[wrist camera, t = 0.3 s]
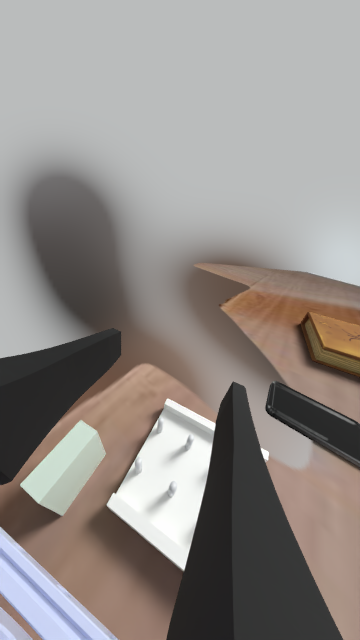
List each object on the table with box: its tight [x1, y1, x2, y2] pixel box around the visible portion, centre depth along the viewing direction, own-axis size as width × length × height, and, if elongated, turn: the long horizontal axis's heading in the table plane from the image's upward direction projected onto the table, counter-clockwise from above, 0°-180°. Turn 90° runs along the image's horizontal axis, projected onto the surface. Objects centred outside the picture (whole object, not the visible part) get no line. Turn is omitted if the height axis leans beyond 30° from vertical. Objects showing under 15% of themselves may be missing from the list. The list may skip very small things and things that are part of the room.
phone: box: [265, 381, 360, 467], centre depth 30 cm, size 8×1×15 cm
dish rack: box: [107, 399, 268, 572], centre depth 20 cm, size 13×16×4 cm
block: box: [20, 420, 106, 516], centre depth 18 cm, size 6×2×7 cm, turn 155°
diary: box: [301, 312, 360, 377], centre depth 45 cm, size 23×19×6 cm
